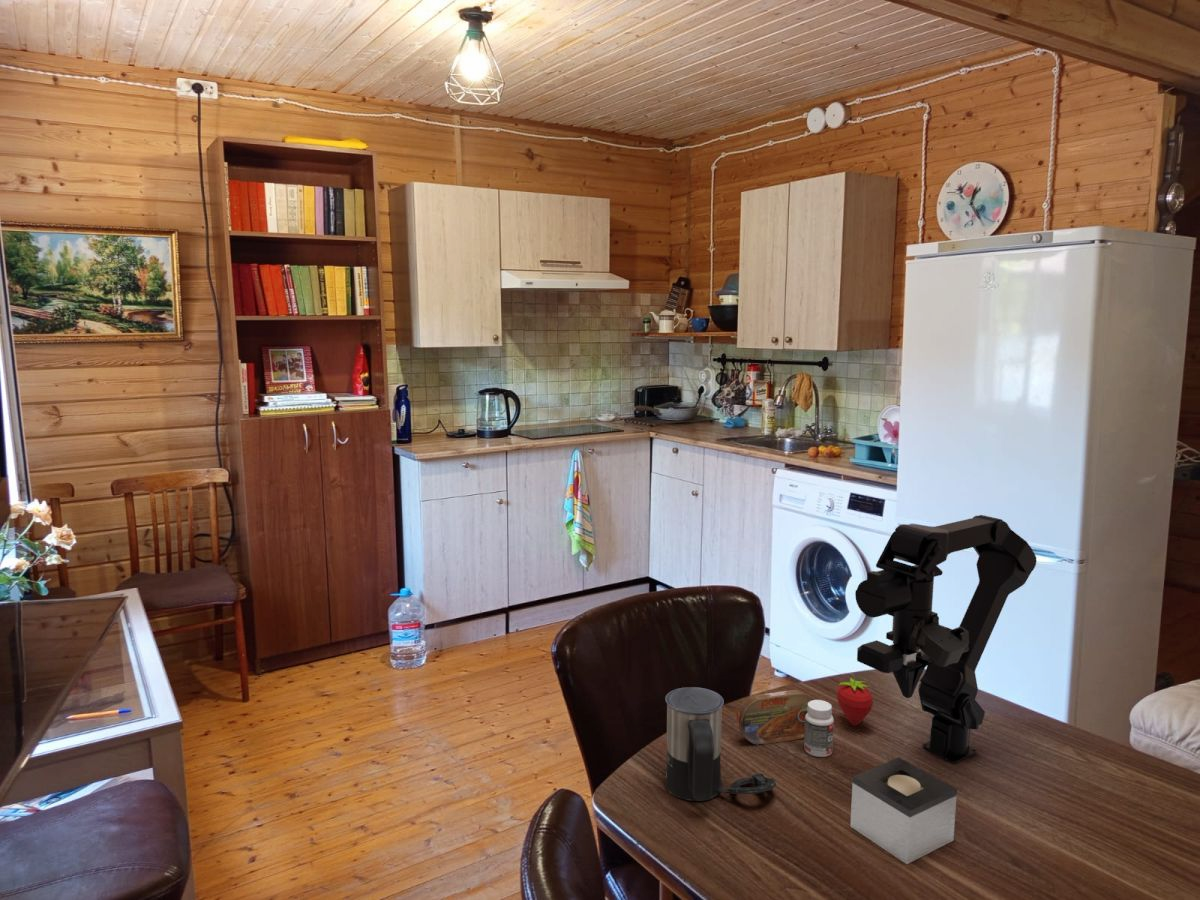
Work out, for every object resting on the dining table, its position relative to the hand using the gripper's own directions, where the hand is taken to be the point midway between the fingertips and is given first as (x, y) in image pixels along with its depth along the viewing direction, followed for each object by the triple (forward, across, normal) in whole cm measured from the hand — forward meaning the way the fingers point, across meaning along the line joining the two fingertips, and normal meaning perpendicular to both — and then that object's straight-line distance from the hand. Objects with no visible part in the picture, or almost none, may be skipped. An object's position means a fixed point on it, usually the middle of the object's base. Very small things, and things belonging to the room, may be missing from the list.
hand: (907, 696), depth 135 cm
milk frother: (+13, -29, +12) cm, 34 cm away
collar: (+13, -14, -11) cm, 22 cm away
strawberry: (+13, +5, +15) cm, 21 cm away
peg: (+13, -14, -11) cm, 22 cm away
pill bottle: (+13, -7, +12) cm, 19 cm away
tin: (+13, -10, +19) cm, 25 cm away
